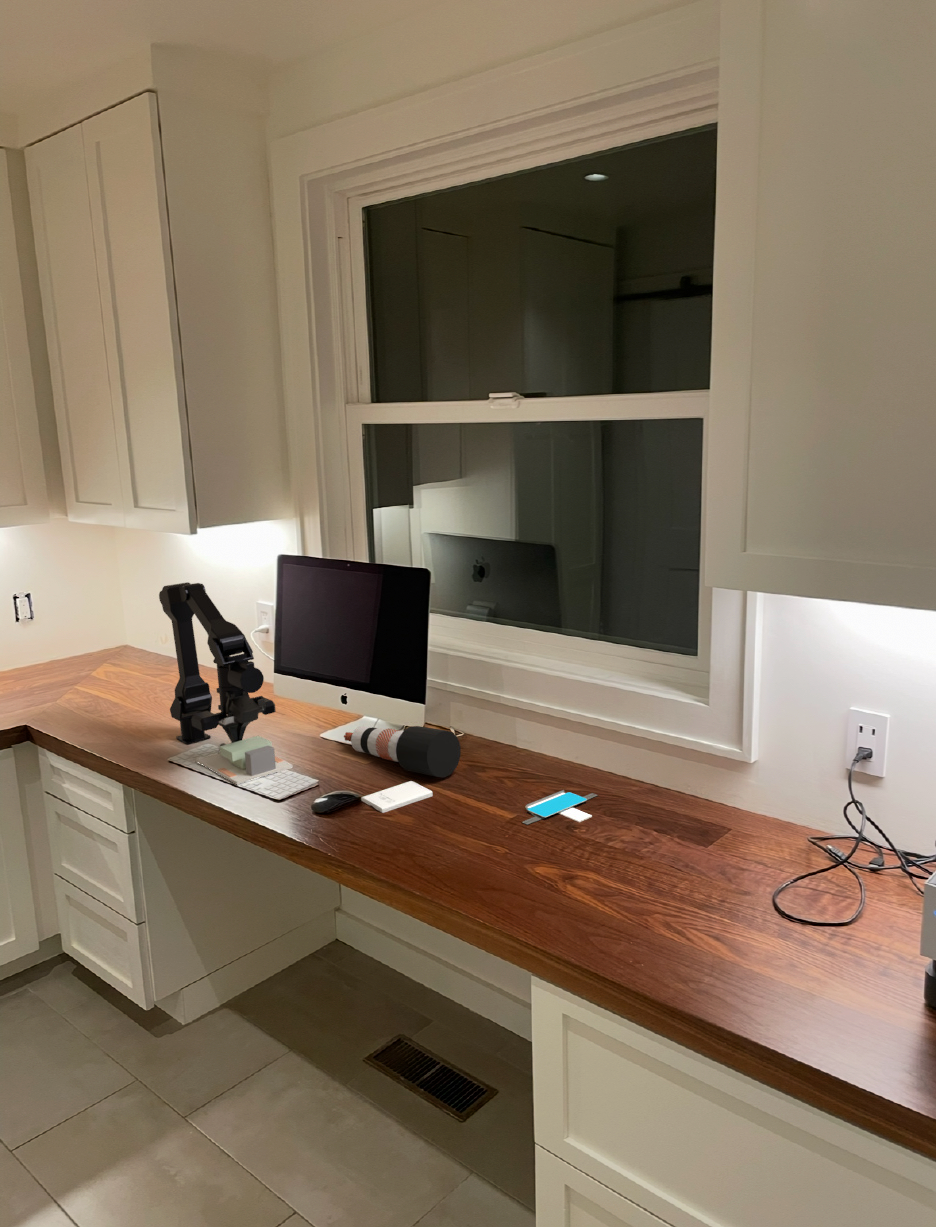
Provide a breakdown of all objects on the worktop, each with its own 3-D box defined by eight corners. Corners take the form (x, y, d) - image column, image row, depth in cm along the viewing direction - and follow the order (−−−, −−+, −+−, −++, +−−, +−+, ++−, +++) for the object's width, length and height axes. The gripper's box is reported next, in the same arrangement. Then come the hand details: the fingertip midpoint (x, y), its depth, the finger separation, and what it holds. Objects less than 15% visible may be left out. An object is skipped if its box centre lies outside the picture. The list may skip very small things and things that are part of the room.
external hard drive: (432, 798, 194) (382, 815, 186) (410, 787, 200) (361, 803, 193) (432, 791, 193) (382, 808, 186) (410, 780, 200) (360, 795, 192)
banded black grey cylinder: (357, 760, 227) (367, 720, 229) (454, 781, 203) (465, 736, 205) (325, 753, 220) (336, 711, 222) (422, 773, 196) (433, 726, 198)
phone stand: (549, 837, 174) (548, 829, 174) (506, 818, 183) (506, 810, 183) (619, 806, 186) (619, 799, 186) (576, 790, 195) (576, 782, 195)
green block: (221, 765, 212) (219, 746, 211) (259, 753, 218) (258, 735, 218) (233, 771, 208) (231, 753, 207) (272, 760, 214) (271, 741, 213)
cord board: (196, 762, 217) (193, 738, 216) (249, 746, 226) (247, 724, 225) (237, 785, 203) (234, 760, 202) (292, 767, 212) (290, 743, 211)
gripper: (210, 700, 200) (216, 768, 204) (285, 682, 213) (290, 746, 216) (187, 690, 209) (194, 755, 212) (260, 673, 221) (266, 735, 224)
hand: (237, 748), depth 216 cm, fingers closed, pressing on green block
